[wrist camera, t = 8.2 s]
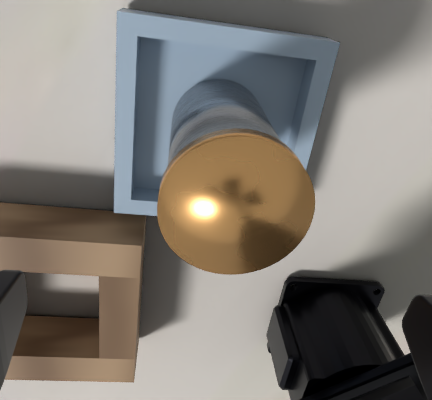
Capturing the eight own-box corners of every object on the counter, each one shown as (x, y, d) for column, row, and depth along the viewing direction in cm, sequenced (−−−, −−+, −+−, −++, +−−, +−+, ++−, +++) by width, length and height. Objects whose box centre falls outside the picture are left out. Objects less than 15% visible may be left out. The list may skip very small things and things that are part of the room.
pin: (277, 81, 18) (334, 148, 11) (256, 175, 20) (293, 279, 14) (172, 67, 18) (163, 128, 11) (163, 165, 20) (151, 269, 13)
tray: (326, 37, 18) (340, 42, 16) (283, 208, 22) (290, 226, 21) (122, 8, 17) (116, 10, 15) (118, 195, 21) (113, 212, 19)
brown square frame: (146, 213, 22) (141, 245, 19) (138, 342, 26) (133, 382, 24) (-52, 198, 20) (-86, 230, 18) (-23, 336, 25) (-46, 378, 22)
